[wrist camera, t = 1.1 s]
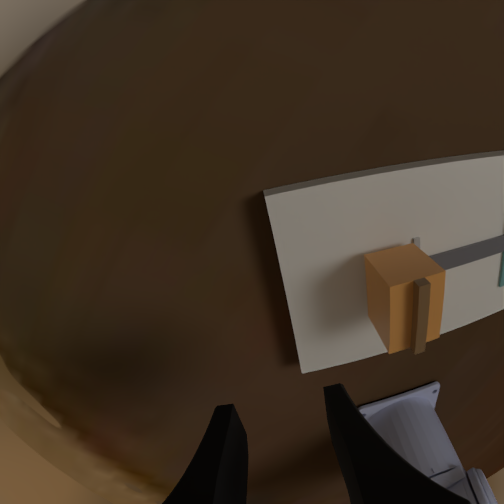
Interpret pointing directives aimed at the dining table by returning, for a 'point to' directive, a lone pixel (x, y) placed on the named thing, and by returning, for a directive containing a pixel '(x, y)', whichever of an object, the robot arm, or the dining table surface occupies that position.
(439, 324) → the fader tab
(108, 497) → the dining table surface
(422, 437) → the robot arm
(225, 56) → the dining table surface
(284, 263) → the fader console
